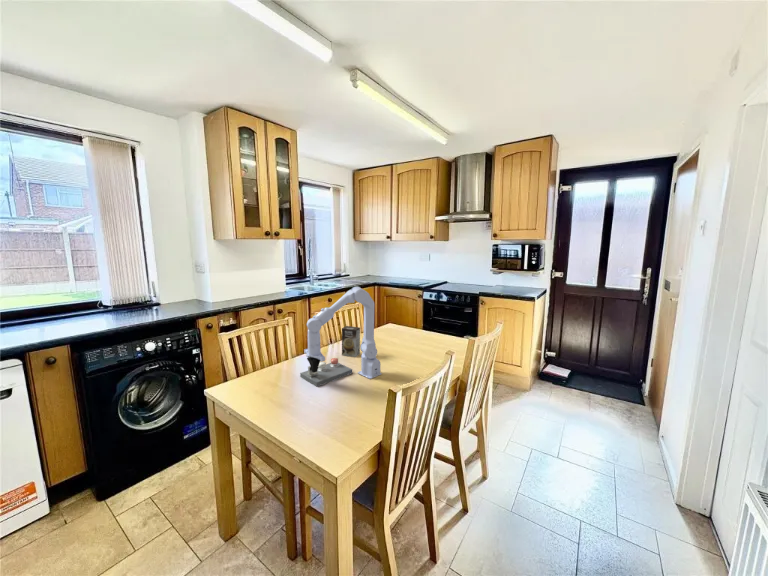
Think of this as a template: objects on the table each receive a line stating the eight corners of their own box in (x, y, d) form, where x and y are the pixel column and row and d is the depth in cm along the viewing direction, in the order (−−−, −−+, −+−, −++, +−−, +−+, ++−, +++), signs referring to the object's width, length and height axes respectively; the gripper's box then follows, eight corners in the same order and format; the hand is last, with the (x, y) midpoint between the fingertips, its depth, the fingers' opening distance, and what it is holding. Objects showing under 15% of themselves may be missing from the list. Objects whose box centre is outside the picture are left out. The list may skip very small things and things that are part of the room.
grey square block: (318, 374, 148) (317, 365, 148) (310, 376, 145) (310, 368, 145) (314, 372, 150) (314, 363, 150) (307, 374, 148) (307, 366, 147)
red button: (339, 363, 160) (339, 359, 159) (333, 364, 157) (333, 361, 157) (335, 361, 162) (335, 357, 162) (329, 362, 159) (329, 359, 159)
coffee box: (341, 355, 179) (341, 328, 176) (346, 351, 185) (346, 325, 182) (355, 357, 176) (355, 330, 173) (360, 353, 182) (360, 327, 179)
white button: (327, 367, 154) (327, 363, 154) (321, 369, 152) (321, 365, 151) (323, 365, 157) (323, 361, 156) (317, 367, 154) (317, 363, 154)
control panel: (352, 373, 156) (352, 369, 155) (316, 386, 141) (316, 382, 140) (335, 364, 165) (335, 361, 165) (300, 376, 150) (300, 372, 150)
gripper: (298, 342, 146) (299, 369, 148) (315, 350, 136) (316, 379, 138) (311, 338, 151) (311, 365, 153) (328, 346, 141) (329, 374, 143)
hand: (314, 371), depth 146 cm, fingers closed
